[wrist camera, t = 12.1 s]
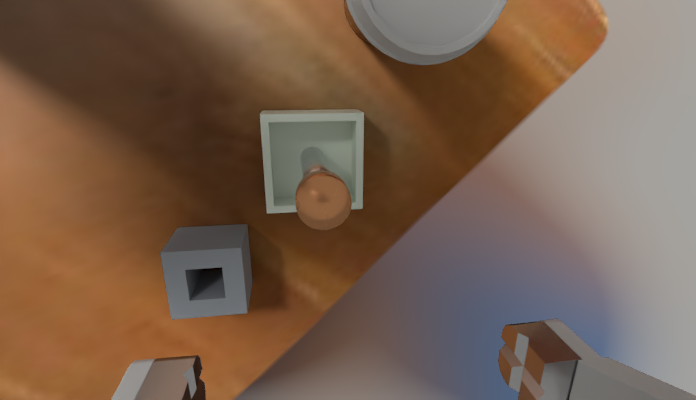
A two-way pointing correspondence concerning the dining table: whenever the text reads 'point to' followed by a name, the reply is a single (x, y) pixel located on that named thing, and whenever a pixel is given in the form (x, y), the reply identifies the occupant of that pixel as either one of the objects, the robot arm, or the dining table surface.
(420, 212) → the dining table surface
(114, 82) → the dining table surface
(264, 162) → the tray
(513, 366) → the robot arm
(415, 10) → the disposable coffee cup
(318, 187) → the pin
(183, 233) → the pin block
